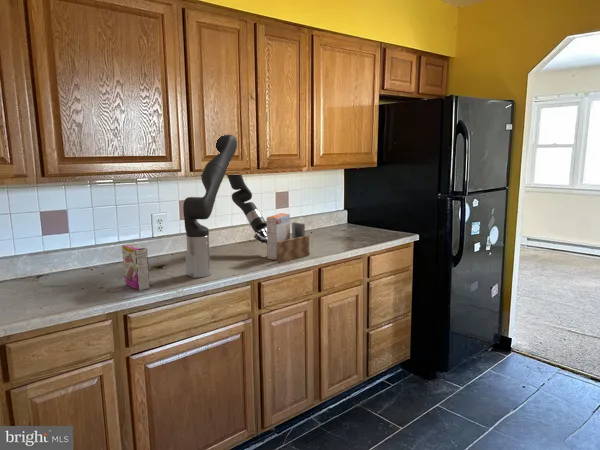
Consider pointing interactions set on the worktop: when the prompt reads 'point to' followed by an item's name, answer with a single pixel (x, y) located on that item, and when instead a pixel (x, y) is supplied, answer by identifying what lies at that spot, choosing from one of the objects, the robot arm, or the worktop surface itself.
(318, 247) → the worktop surface
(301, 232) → the bookend
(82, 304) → the worktop surface
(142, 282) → the candy bar box
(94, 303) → the worktop surface
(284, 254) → the shelf wall
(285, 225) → the cracker box
